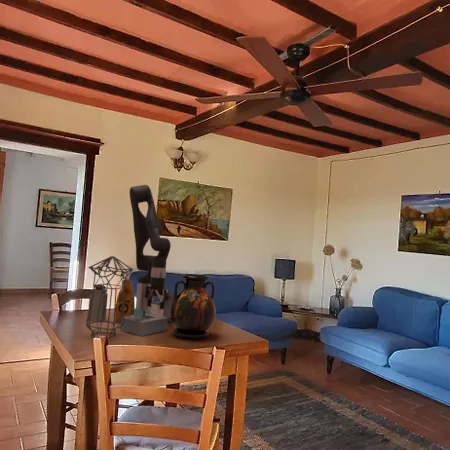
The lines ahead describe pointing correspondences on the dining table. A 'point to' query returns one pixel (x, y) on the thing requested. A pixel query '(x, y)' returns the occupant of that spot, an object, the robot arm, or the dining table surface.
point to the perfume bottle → (96, 304)
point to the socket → (145, 325)
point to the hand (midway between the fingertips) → (155, 307)
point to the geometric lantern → (106, 293)
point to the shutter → (136, 315)
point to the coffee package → (128, 303)
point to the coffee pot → (168, 308)
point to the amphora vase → (193, 307)
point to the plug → (156, 309)
